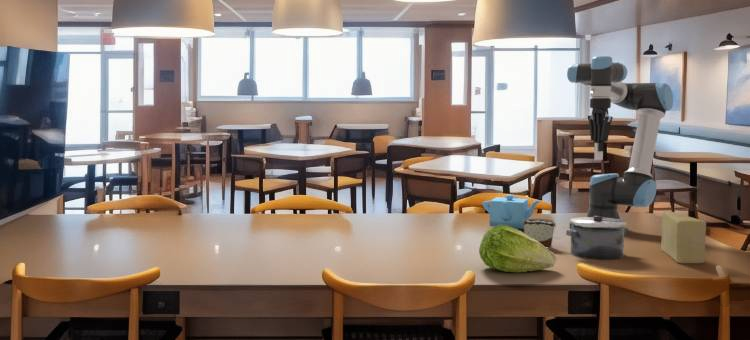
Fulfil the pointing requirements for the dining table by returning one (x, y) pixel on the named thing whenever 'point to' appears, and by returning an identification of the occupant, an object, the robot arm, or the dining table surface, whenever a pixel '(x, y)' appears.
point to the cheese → (683, 237)
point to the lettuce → (514, 251)
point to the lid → (598, 222)
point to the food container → (540, 230)
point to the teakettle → (509, 211)
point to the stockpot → (597, 242)
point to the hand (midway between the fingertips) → (598, 159)
